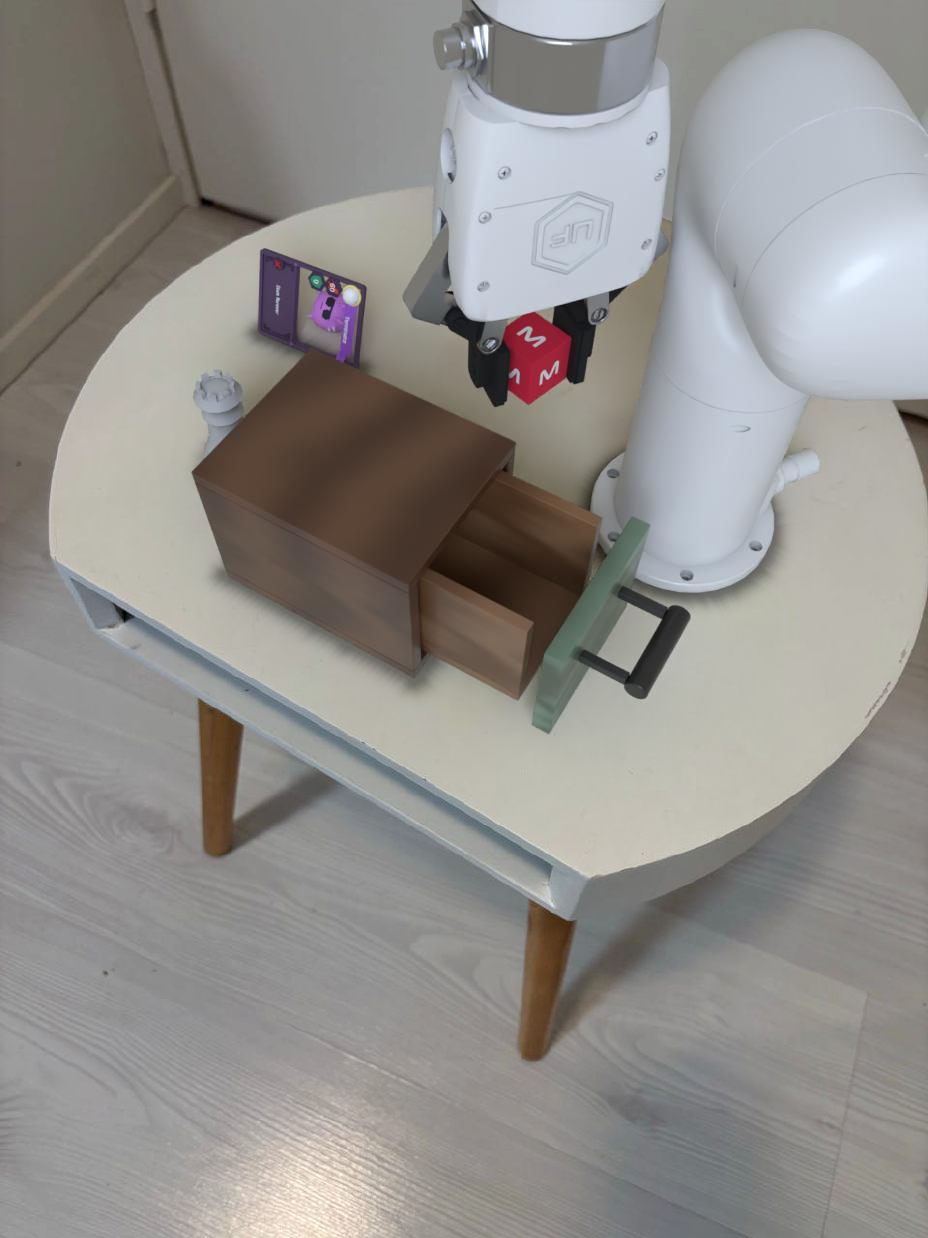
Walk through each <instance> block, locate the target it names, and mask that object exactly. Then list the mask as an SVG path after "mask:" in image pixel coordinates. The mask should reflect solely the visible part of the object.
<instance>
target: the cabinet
mask: <svg viewBox="0 0 928 1238" xmlns="http://www.w3.org/2000/svg"><path fill="white" fill-rule="evenodd" d="M516 447H517V442H516V441H515V440H512V439H511V438H508V437H506V436H504V435H502V434H499V433H498V432H495V431H494V430H491V429H488V428H487V427H484V426H482V425H480V424H478V423H476V422H473V421H471V420H469V419H467V418H465V417H463V416H460V415H458V414H456V413H454V412H452V411H450V410H447V409H445V408H443V407H441V406H438V405H436V404H435V403H432V402H430V401H427V400H426V399H423V398H421V397H419V396H416V395H414V394H412V393H411V392H408V391H406V390H404V389H402V388H399V387H397V386H396V385H393V384H391V383H389V382H386V381H384V380H382V379H381V378H377V377H375V376H373V375H371V374H369V373H366V372H365V371H362V370H360V369H359V368H358V369H356V368H354V367H352V366H349V365H347V364H345V363H343V362H341V361H338V360H336V359H334V358H332V357H330V356H328V355H325V354H323V353H321V352H319V351H317V350H314V349H312V348H311V349H310V350H309V351H308V352H306V353H305V354H304V355H303V356H302V357H301V358H300V359H299V360H298V361H297V362H296V363H295V364H294V365H293V366H292V367H291V368H290V369H289V371H287V372H286V374H284V375H283V376H282V377H281V378H280V380H279V381H278V382H276V384H275V385H274V386H273V387H272V388H271V389H270V390H269V391H268V392H267V393H266V394H265V395H264V396H263V397H262V398H261V399H260V400H259V401H258V402H257V403H256V404H255V406H253V408H252V409H251V410H250V411H248V413H247V414H246V415H245V416H243V419H242V420H241V421H240V422H239V423H238V424H237V425H236V426H235V427H234V428H233V429H232V431H231V432H230V433H229V434H228V435H227V436H226V437H225V438H224V439H223V440H222V441H221V442H220V443H219V444H218V445H217V446H216V447H215V448H214V449H213V450H212V451H211V452H210V453H209V454H208V455H207V456H206V457H205V458H204V457H203V459H202V460H201V461H200V462H199V463H198V464H197V465H196V467H195V468H194V469H192V471H190V472H191V475H192V479H193V481H194V484H195V487H196V490H197V493H198V496H199V499H200V501H201V505H202V507H203V510H204V512H205V516H206V518H207V521H208V524H209V527H210V530H211V532H212V535H213V538H214V541H215V544H216V547H217V550H218V553H219V556H220V558H221V561H222V564H223V566H224V569H225V572H226V575H227V577H229V578H230V579H232V580H234V581H236V582H238V583H240V584H241V585H244V587H247V588H249V589H251V590H252V591H254V592H256V593H258V594H260V595H262V596H263V597H265V598H267V599H269V600H271V601H273V602H275V603H277V604H278V605H280V606H281V607H284V608H286V609H287V610H289V611H291V612H293V613H295V614H296V615H298V616H300V617H301V618H304V619H305V620H307V621H309V622H311V623H312V624H315V625H316V626H318V627H320V628H321V629H324V630H326V631H327V632H329V633H331V634H333V635H335V636H336V637H338V638H340V639H342V640H344V641H345V642H347V643H349V644H350V645H353V646H354V647H356V648H359V649H360V650H362V651H364V652H366V653H367V654H369V655H371V656H373V657H375V658H376V659H379V660H380V661H382V662H384V663H386V664H387V665H389V666H391V667H393V668H395V669H396V670H398V671H400V672H402V673H404V674H405V675H407V676H409V677H411V678H413V679H415V678H416V677H417V676H418V674H419V672H420V671H421V670H422V668H423V667H424V665H425V664H426V663H427V661H428V660H429V658H430V657H431V656H432V655H431V654H429V653H427V652H426V651H424V650H422V649H421V645H420V625H419V605H418V585H417V582H418V581H419V579H420V578H421V577H422V575H423V574H424V573H425V571H426V570H427V569H428V567H429V566H430V565H431V563H432V562H433V561H434V559H435V558H436V557H437V555H438V554H439V553H440V551H441V550H442V549H443V547H444V546H445V545H446V543H447V542H448V541H449V539H450V538H451V537H452V535H453V534H454V533H455V531H456V530H457V529H458V527H459V526H460V525H461V523H462V522H463V521H464V519H465V518H466V517H467V515H468V514H469V513H470V511H471V510H472V509H473V507H474V506H475V505H476V503H477V502H478V501H479V499H480V498H481V497H482V495H483V494H484V493H485V491H486V490H487V489H488V487H489V486H490V485H491V483H492V482H493V481H494V479H495V478H496V477H497V475H498V474H499V473H500V471H501V470H502V471H504V472H507V473H509V474H511V475H513V476H514V470H515V469H514V468H515V457H516Z"/></svg>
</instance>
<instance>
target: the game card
mask: <svg viewBox="0 0 928 1238" xmlns="http://www.w3.org/2000/svg"><path fill="white" fill-rule="evenodd" d="M301 269H303V270H307V271H309V272H311V273H310V274H309V276H308V277H307V279H308V282H309V285H310V288H311V289H313V290H314V291H316V294H317V296H316V297H315V300H314V301H313V304H312V312H311V313H308V314H307V315H306V317H308V318H309V319H311V320H313V321H314V323H316V325H317V326H318V327H319V328H320V329H322V330H323V331H325V332H327V333H331V334H332V333H340V332H341V337H340V338H341V339H340V345H339V351H338V352H337V354H336V355H334V354H331V353H328V352H326V351H324V350H321V349H318V348H316V347H313V346H311V345H308V344H306V343H304V342H300V341H298V340H297V332H298V331H297V330H298V314H299V299H300V298H299V297H300V283H301V281H300V280H301V279H300V278H301ZM258 273H259V274H258V308H257V311H258V312H257V332H258V333H259V334H260V335H262V336H265V337H267V338H270V339H272V340H275V341H278V342H280V343H282V344H285V345H287V346H291V347H292V348H295V349H298V350H300V351H303V352H306V353H307V352H308V351H309V350H310V349H311V348H312V349H314V350H317V351H319V352H321V353H323V354H325V355H328V356H330V357H332V358H334V359H336V360H338V361H341V362H343V363H345V364H347V365H349V366H352V367H354V368H356V369H358V370H359V366H360V359H361V350H362V349H361V348H362V340H363V339H362V338H363V329H364V322H365V321H364V320H365V311H366V302H367V301H366V300H367V292H368V287H367V285H365V284H363V283H361V282H358V281H355V280H352V279H350V278H347V277H344V276H342V275H339V274H336V273H334V272H331V271H328V270H325V269H323V268H320V267H318V266H316V265H312V264H310V263H307V262H304V261H302V260H299V259H296V258H293V257H290V256H288V255H286V254H283V253H280V252H277V251H276V250H272V249H270V248H266V247H263V248H261V249H260V251H259V272H258ZM325 278H327V279H325ZM341 283H342V284H344V285H345V286H344V287H342V284H341ZM324 288H325V290H324ZM357 309H358V311H357ZM356 315H357V319H356ZM355 324H356V328H355ZM355 329H356V330H355ZM354 332H355V340H354V349H353V358H352V359H353V360H352V362H351V361H349V360H346V358H349V359H351V354H352V346H353V339H354Z"/></svg>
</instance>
